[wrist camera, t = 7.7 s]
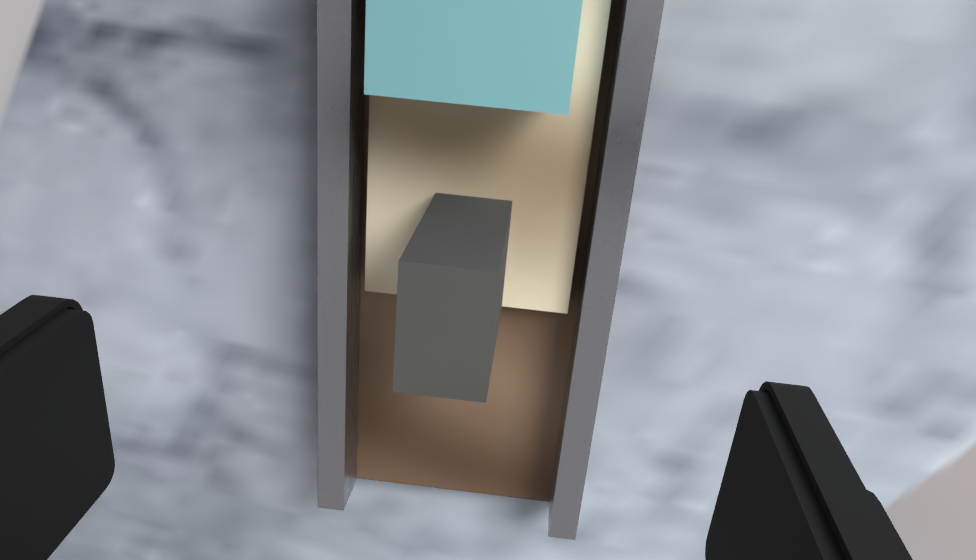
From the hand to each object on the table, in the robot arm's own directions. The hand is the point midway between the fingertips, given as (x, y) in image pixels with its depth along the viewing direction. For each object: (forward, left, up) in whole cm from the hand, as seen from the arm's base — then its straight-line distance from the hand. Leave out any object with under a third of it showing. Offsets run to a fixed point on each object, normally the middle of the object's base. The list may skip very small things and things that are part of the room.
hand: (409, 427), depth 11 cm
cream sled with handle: (-3, 0, -11) cm, 11 cm away
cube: (-6, 0, -10) cm, 11 cm away
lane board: (0, 0, -11) cm, 11 cm away
